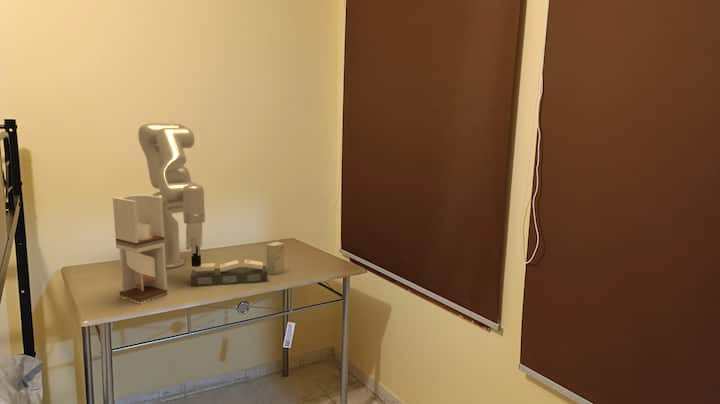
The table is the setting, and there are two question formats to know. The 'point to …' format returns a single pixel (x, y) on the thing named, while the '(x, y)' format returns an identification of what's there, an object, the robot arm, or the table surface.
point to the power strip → (228, 276)
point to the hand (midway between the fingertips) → (196, 265)
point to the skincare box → (275, 258)
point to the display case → (141, 246)
